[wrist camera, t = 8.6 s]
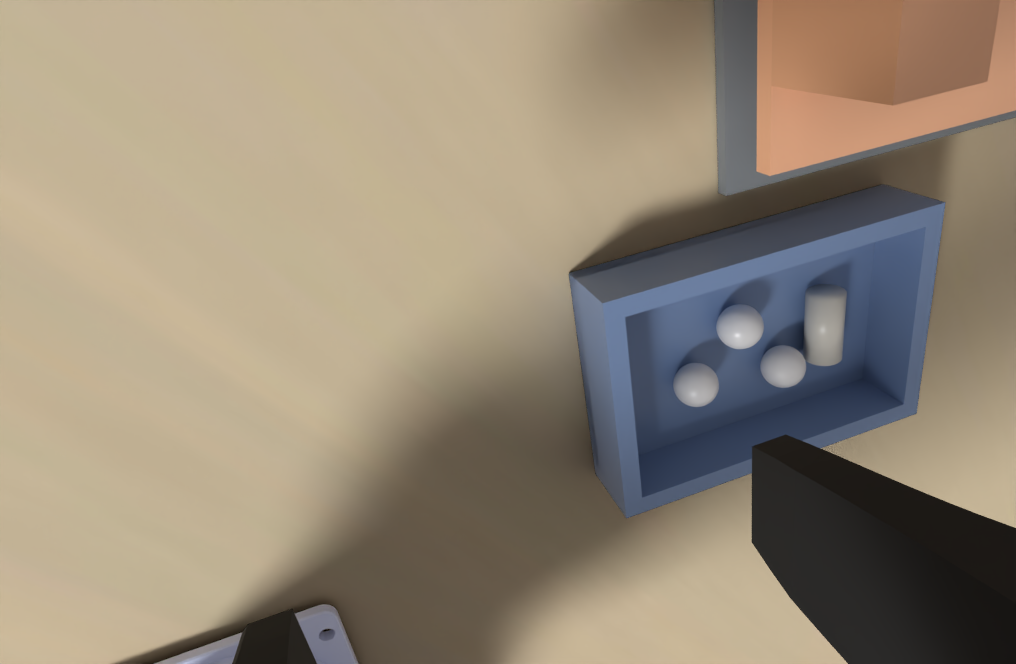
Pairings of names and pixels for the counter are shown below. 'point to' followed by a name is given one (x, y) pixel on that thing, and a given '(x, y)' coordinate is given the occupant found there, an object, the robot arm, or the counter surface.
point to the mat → (740, 105)
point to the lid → (876, 73)
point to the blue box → (754, 340)
